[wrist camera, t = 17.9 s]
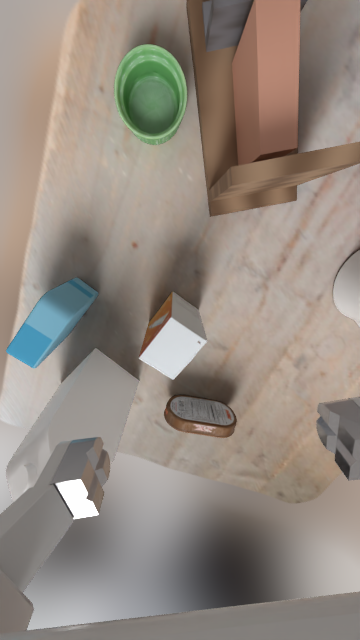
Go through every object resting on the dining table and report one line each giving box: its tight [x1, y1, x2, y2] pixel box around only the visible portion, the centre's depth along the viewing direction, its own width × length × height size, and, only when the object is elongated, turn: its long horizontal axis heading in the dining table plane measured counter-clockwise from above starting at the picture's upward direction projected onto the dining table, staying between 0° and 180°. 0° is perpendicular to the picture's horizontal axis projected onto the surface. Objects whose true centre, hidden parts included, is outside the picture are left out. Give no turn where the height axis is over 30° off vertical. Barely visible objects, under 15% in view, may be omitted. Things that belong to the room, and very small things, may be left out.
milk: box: [6, 348, 139, 502], centre depth 36 cm, size 12×12×26 cm
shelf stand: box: [187, 0, 360, 217], centre depth 25 cm, size 13×24×16 cm, turn 10°
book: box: [232, 0, 300, 165], centre depth 27 cm, size 4×12×9 cm, turn 10°
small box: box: [139, 291, 207, 380], centre depth 37 cm, size 8×6×13 cm
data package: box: [6, 277, 98, 368], centre depth 37 cm, size 12×4×12 cm, turn 139°
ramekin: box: [114, 44, 187, 145], centre depth 30 cm, size 9×9×4 cm
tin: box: [164, 395, 237, 438], centre depth 47 cm, size 15×3×8 cm, turn 77°
